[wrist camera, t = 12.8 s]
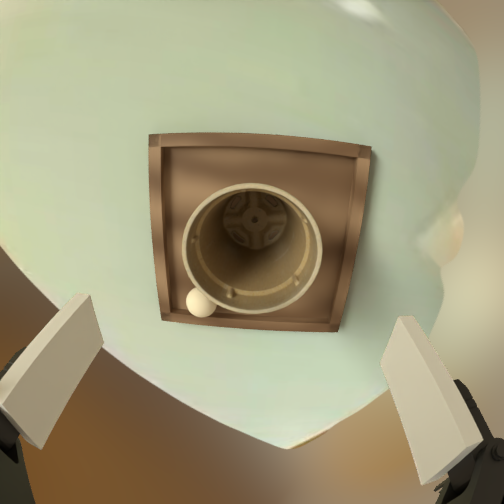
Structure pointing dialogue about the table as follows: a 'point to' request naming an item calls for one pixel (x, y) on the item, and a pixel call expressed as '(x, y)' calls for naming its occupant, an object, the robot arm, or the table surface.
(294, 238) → the flower pot
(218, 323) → the tray
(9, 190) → the table surface
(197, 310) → the cream white ball
